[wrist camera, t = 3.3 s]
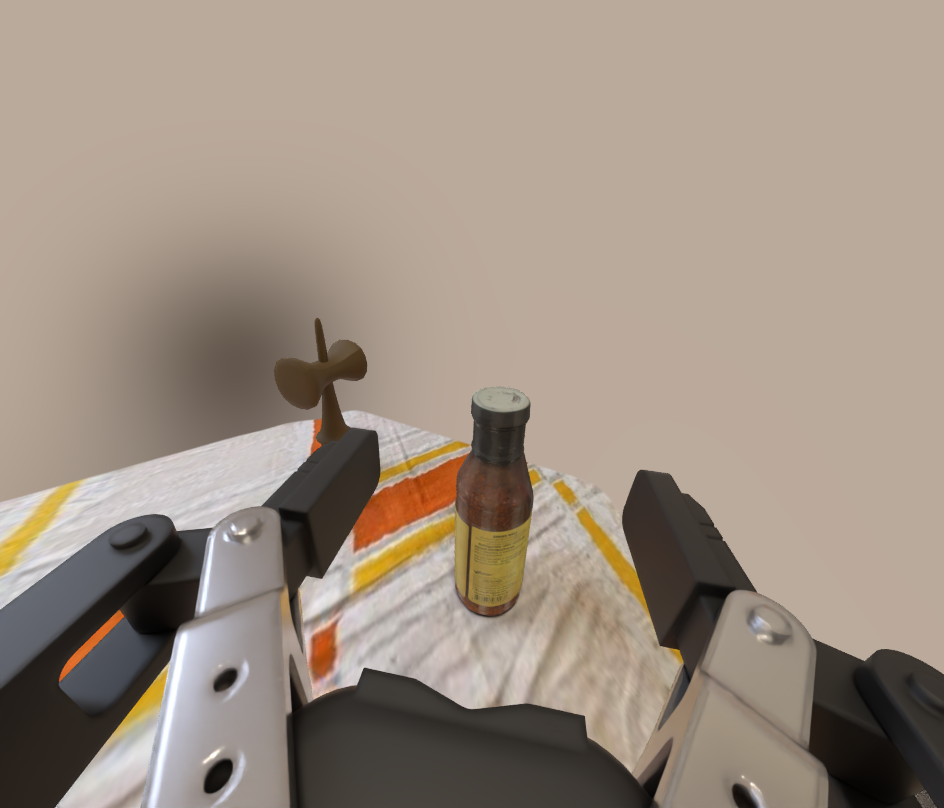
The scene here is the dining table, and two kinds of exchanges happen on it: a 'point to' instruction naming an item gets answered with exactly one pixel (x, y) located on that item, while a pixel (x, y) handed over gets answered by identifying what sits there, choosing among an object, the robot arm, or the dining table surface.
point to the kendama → (321, 381)
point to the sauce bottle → (493, 503)
